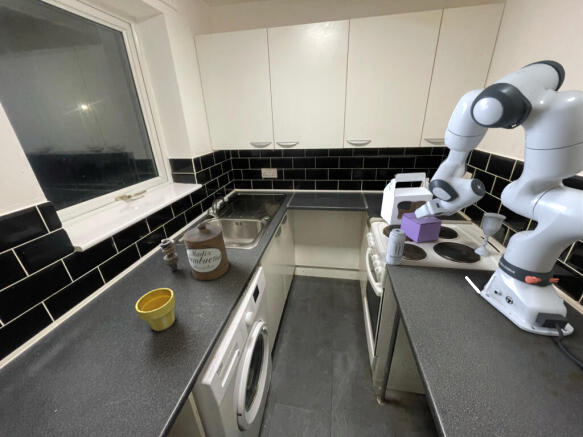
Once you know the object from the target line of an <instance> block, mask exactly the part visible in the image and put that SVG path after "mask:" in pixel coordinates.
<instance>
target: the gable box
mask: <svg viewBox="0 0 583 437" xmlns="http://www.w3.org/2000/svg"><path fill="white" fill-rule="evenodd" d="M399 182H401V183H402V182H404V183H405V182H421V183H420V186H419V187H418V186H417V187H397V186H396V185H397V183H399ZM429 183H430V177H427V176H426V172H407V173H405V172H404V173H396V174H394V178H392V179H390V181H389V183H388V184H387V185H386V186H385V188H384V189H383V194H382V195H383V196H382V204H381V211H380V217H382V219H383V220H384V221H385V222H386V223H387V224H388V225H390V226H393V225H395V226H396V225H401V222H402V217H403V214H405V213H413V212H415V211H416V210H417V209H418V208H420V207H421V206H423V205H425V204H426V202H427V201H429V200H432V199H433V197H434V195H433V194H432V193H431V192H430V191H429V189H428V184H429ZM396 187H397V188H396ZM401 202H410V206H409V209H404V208H398V204H400V203H401Z"/></svg>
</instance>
